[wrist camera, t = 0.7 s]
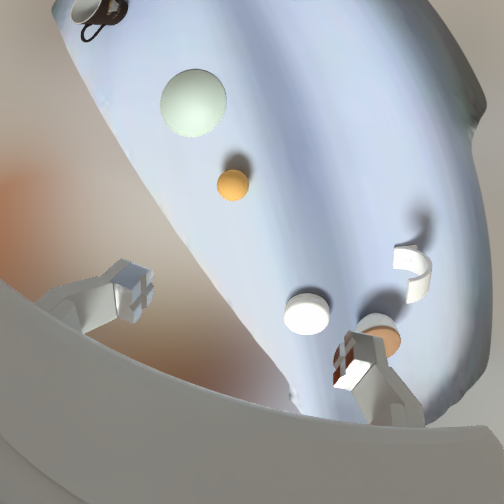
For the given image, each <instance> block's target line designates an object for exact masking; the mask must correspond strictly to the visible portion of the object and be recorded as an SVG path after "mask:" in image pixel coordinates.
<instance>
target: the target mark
mask: <svg viewBox="0 0 504 504" xmlns="http://www.w3.org/2000/svg"><path fill="white" fill-rule="evenodd" d="M225 109H226V94H225V90H224V88H223V86H222V84H221V83H220V81H219V80H218V79H217V78H216V77H215V76H214V75H212V74H210V73H208V72H206V71H202V70H188V71H184V72H182V73H180V74H178V75H176V76H175V77H174V78H172V79H171V80H170V81H169V83H168V84H167V85H166V87H165V88H164V90H163V93H162V96H161V100H160V110H161V115H162V118H163V120H164V122H165V123H166V125H167V126H168V127H169V128H170V129H171V130H172V131H173V132H175V133H177V134H179V135H181V136H185V137H197V136H201V135H204V134H206V133H208V132H210V131H211V130H212V129H214V128H215V127H216V126H217V125H218V123H219V122H220V121H221V119H222V117H223V115H224V112H225Z"/></svg>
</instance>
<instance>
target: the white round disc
mask: <svg viewBox="0 0 504 504" xmlns="http://www.w3.org/2000/svg"><path fill="white" fill-rule="evenodd" d="M329 318H330V317H329V306H328V304H327V302H326V301H325V300H324V299H323V298H322V297H320V296H318V295H316V294H311V293H303V294H299V295H296V296H294V297H292V298H291V299H290V300H289V301H288V303H287V304H286V307H285V312H284V321H285V324H286V325H287V327H288V328H289V329H290V330H292V331H293V332H295V333H298V334H302V335H311V334H316V333H318V332H320V331H322V330H323V329H324V328H325V327H326V326H327V324H328V322H329Z"/></svg>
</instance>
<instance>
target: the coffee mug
mask: <svg viewBox="0 0 504 504" xmlns="http://www.w3.org/2000/svg"><path fill="white" fill-rule="evenodd" d="M127 10H128V4H127V3H126V2H125V1H123V0H75V2H74V4H73V6H72V8H71V12H70V18H71V21H72V22H73V23H74V24H85V26H84V28H83V29H82V31H81V40H82V41H83V42H90V41H91V40H92V39H94V38H95V37H96V36H97V34H98V33H99V32H100V31H101V29H102V28H103V27H104V26H105V25H115V24H117V23H119V22H120V21H121V20H122V19H123V18H124V17H125V15H126V13H127ZM92 24H95V25H101V27H100V28H99V29H98V30H97V32H96V33H95V34H94V35H93V37H91V38H90V39H89V40H86V39H85V38H84V31H85V29H86V28H87V27H89V26H91V25H92Z"/></svg>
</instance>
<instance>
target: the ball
mask: <svg viewBox="0 0 504 504" xmlns="http://www.w3.org/2000/svg"><path fill="white" fill-rule="evenodd" d="M248 188H249V182H248V179H247V177H246V176H245V174H244V173H242V172H241V171H239V170H228V171H225V172H224V173H222V174H221V176H220V177H219V179H218V182H217V189H218V192H219V194H220V195H221V196H222V197H223V198H225V199H226V200H230V201H236V200H239V199H241V198H243V197H244V196H245V195H246V193H247V191H248Z"/></svg>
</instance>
